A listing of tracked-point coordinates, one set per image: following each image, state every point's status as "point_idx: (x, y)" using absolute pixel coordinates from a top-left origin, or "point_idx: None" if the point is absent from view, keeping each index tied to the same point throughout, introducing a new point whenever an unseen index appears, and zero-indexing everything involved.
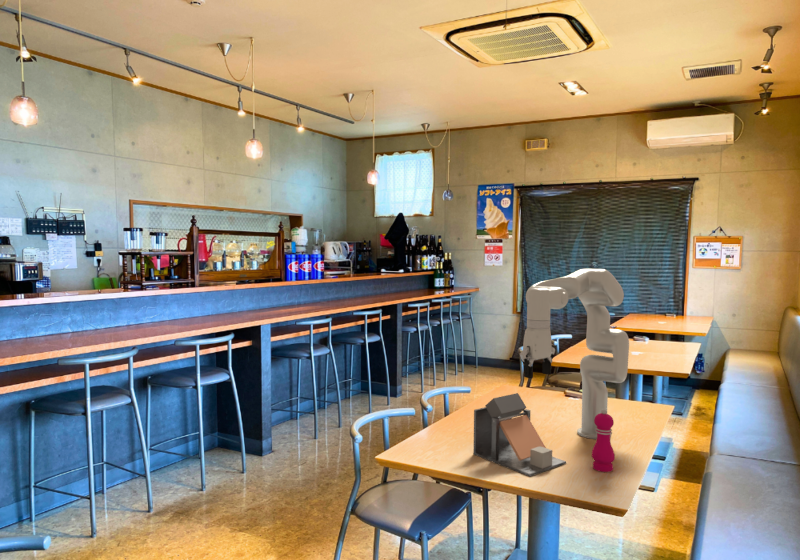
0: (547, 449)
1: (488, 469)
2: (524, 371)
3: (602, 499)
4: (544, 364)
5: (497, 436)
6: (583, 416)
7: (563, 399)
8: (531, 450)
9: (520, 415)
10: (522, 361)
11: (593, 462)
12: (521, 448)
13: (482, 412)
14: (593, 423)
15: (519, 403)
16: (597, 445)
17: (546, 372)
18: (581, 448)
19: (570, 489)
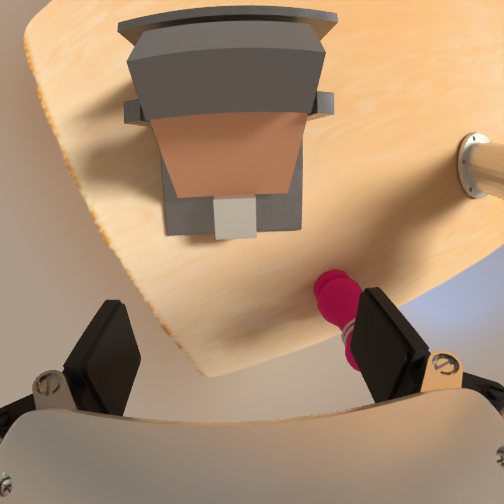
0: (250, 227)
1: (122, 154)
2: (91, 328)
3: (207, 355)
4: (391, 359)
5: (151, 125)
6: (492, 156)
7: None
8: (213, 202)
9: None
10: (10, 413)
11: (326, 279)
12: (195, 182)
13: (155, 28)
14: (484, 180)
15: (286, 92)
16: (334, 311)
17: (358, 333)
18: (405, 191)
19: (192, 312)
